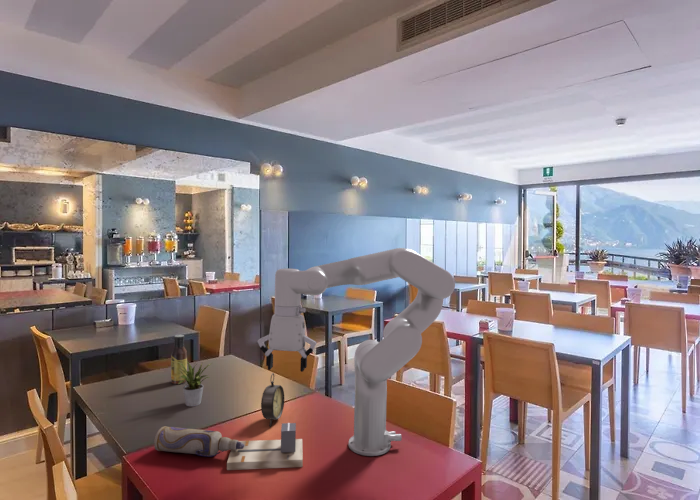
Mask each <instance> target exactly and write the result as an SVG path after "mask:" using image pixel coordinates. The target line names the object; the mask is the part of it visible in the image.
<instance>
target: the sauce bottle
mask: <svg viewBox="0 0 700 500" xmlns="http://www.w3.org/2000/svg"><path fill="white" fill-rule="evenodd" d="M173 340H174V343H173V348H172V351H171V353H170V380H171V384H173V385H178V384H179V382H180V380H181V381H182V380H185V379H182V377H181V376H182V375H183V374H184V375H186V374H187V373H186V374H185V373H184V371H185V370H184V368H183V366H182V365H181V364H183V365H184V367H185V369H186V370H187V371H188V363H187V361H188V350H187V348H186V347H185V335H184V334H175V335H174V336H173ZM178 362H179V363H178ZM180 363H181V364H180ZM179 368H180V369H179ZM181 369H182V370H184V371H182V370H181ZM180 371H181V372H182V373H183V374H182V373H181V372H180ZM185 372H186V371H185ZM186 376H187V375H186ZM175 379H178V380H175ZM184 383H187V381H186V380H185V381H184ZM184 383H183V382H182V383H180V384H181V385H182V384H184ZM180 384H179V385H180Z"/></svg>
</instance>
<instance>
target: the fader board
mask: <svg viewBox="0 0 700 500" xmlns="http://www.w3.org/2000/svg"><path fill="white" fill-rule="evenodd" d="M238 441H239V442H242V443H243V444H244V448H243V449H237V450H236V451H233V450H230V453H229V455H228V459H227V462H226V470H227V471H237V470H239V471H240V470H241V471H242V470H259V469H261V470H262V469H281V468H303V467H304V466H303V463H304V461H303V459H304V458H303V457H304V456H303V455H304V454H303V452H304V451H303V438H296V445H295V452H283V453H281V439H266V440H263V439H262V440H259V439H258V440H238Z"/></svg>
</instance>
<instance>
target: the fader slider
mask: <svg viewBox="0 0 700 500" xmlns="http://www.w3.org/2000/svg"><path fill="white" fill-rule="evenodd" d="M296 428H297V423H296V422H287V423H286V422H285V423H281V429H280V440H281V453H283V452H295V445H296V439H297V438H296V437H297V434H296V431H297V429H296Z"/></svg>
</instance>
